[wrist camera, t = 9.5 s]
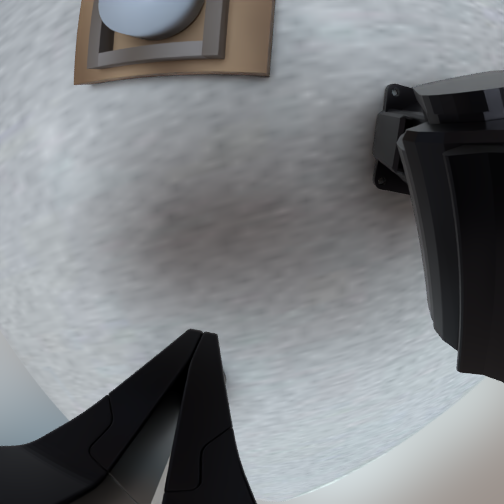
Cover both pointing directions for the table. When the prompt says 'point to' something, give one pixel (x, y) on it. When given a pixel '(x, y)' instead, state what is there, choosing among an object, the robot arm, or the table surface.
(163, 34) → the blue-grey flat rounded piece
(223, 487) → the robot arm
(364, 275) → the table surface
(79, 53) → the button panel
